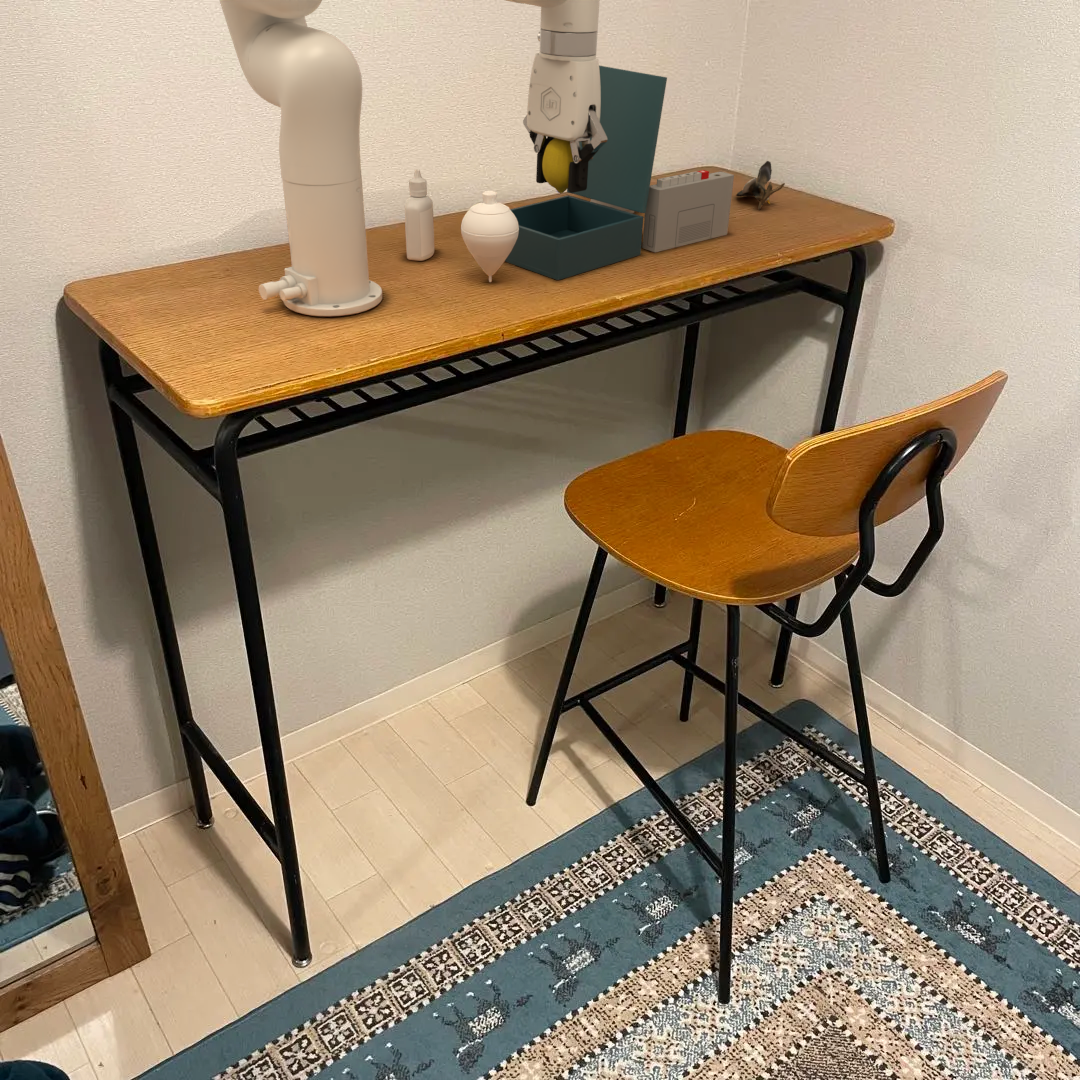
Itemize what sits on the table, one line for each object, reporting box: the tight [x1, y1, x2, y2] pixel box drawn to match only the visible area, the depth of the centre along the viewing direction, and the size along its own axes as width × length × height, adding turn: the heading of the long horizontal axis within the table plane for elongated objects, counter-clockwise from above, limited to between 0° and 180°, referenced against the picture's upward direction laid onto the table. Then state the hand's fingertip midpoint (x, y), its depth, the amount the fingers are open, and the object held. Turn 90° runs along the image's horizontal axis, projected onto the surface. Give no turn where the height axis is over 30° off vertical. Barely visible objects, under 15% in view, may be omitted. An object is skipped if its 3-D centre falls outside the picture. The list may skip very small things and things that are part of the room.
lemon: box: [542, 138, 574, 194], centre depth 145 cm, size 6×6×8 cm
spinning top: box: [460, 190, 519, 283], centre depth 138 cm, size 8×8×12 cm
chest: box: [504, 194, 644, 281], centre depth 151 cm, size 17×15×6 cm
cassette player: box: [641, 169, 735, 253], centre depth 156 cm, size 16×3×10 cm, turn 129°
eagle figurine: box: [735, 160, 786, 211], centre depth 176 cm, size 8×7×9 cm
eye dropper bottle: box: [404, 169, 436, 262], centre depth 147 cm, size 4×6×12 cm
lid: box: [566, 64, 668, 214], centre depth 150 cm, size 18×15×1 cm
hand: (561, 185), depth 147 cm, fingers closed on lemon, 5 cm apart
